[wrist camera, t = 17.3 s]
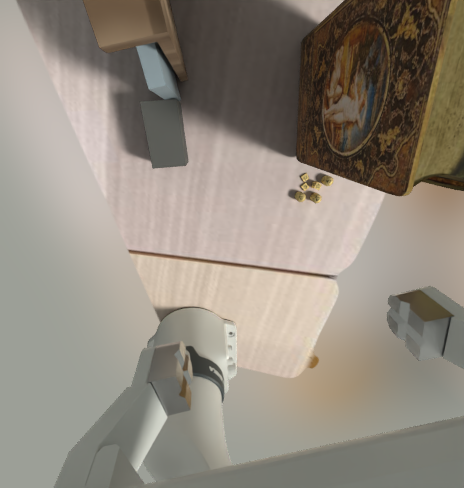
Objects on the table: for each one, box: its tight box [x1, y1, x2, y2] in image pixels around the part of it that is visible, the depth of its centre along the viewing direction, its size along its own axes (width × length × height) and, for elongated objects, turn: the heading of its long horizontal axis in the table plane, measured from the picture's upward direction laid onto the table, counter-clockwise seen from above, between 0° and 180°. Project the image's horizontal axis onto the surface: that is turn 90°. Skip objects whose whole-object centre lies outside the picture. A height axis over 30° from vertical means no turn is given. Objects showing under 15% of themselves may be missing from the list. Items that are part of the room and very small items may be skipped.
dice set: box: [295, 173, 333, 203], centre depth 43 cm, size 5×5×2 cm
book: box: [296, 0, 464, 196], centre depth 26 cm, size 16×6×25 cm, turn 3°
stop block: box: [140, 99, 188, 168], centre depth 36 cm, size 8×4×5 cm, turn 4°
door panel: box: [136, 42, 181, 101], centre depth 27 cm, size 12×2×14 cm, turn 12°
